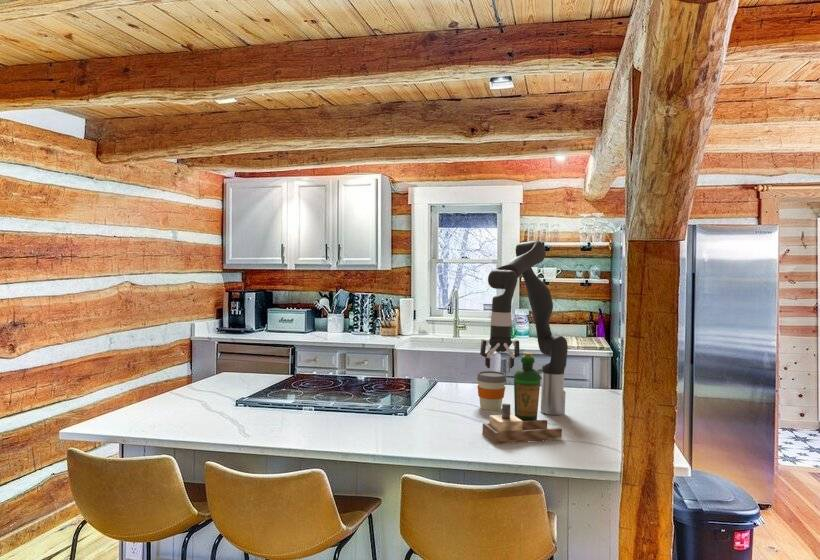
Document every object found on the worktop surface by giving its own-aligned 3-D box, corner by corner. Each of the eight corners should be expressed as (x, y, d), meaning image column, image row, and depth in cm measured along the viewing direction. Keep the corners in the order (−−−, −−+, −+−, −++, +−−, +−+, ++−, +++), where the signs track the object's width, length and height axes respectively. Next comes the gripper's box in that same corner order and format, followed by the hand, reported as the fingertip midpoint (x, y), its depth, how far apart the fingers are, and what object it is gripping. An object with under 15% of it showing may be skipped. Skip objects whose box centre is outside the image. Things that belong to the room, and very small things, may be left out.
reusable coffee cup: (492, 413, 252) (493, 377, 251) (470, 406, 261) (471, 373, 260) (511, 408, 260) (512, 374, 259) (489, 402, 269) (490, 369, 269)
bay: (545, 430, 229) (545, 419, 229) (561, 439, 217) (562, 429, 217) (482, 433, 222) (482, 423, 222) (495, 444, 210) (495, 433, 210)
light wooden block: (511, 430, 224) (512, 401, 223) (522, 437, 215) (523, 407, 214) (489, 431, 221) (490, 402, 221) (499, 438, 212) (499, 408, 212)
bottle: (523, 427, 232) (525, 356, 230) (506, 420, 241) (509, 351, 240) (544, 424, 236) (547, 354, 235) (527, 417, 246) (530, 350, 245)
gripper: (516, 323, 224) (514, 366, 225) (479, 322, 222) (478, 365, 223) (522, 325, 217) (521, 370, 217) (484, 325, 215) (483, 369, 215)
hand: (499, 367), depth 220 cm, fingers open, 8 cm apart
